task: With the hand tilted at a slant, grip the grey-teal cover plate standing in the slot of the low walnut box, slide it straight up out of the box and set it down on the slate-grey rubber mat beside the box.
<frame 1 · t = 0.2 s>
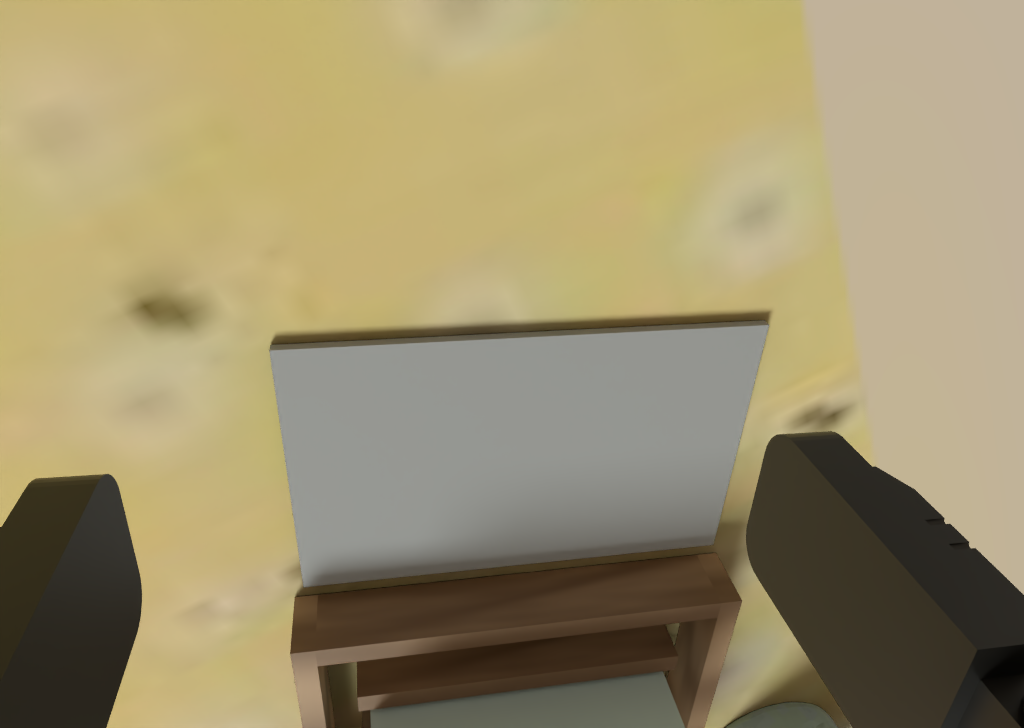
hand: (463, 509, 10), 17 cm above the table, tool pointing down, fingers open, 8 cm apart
grey mat: (523, 456, 32), on the table
walnut box: (510, 656, 39), on the table
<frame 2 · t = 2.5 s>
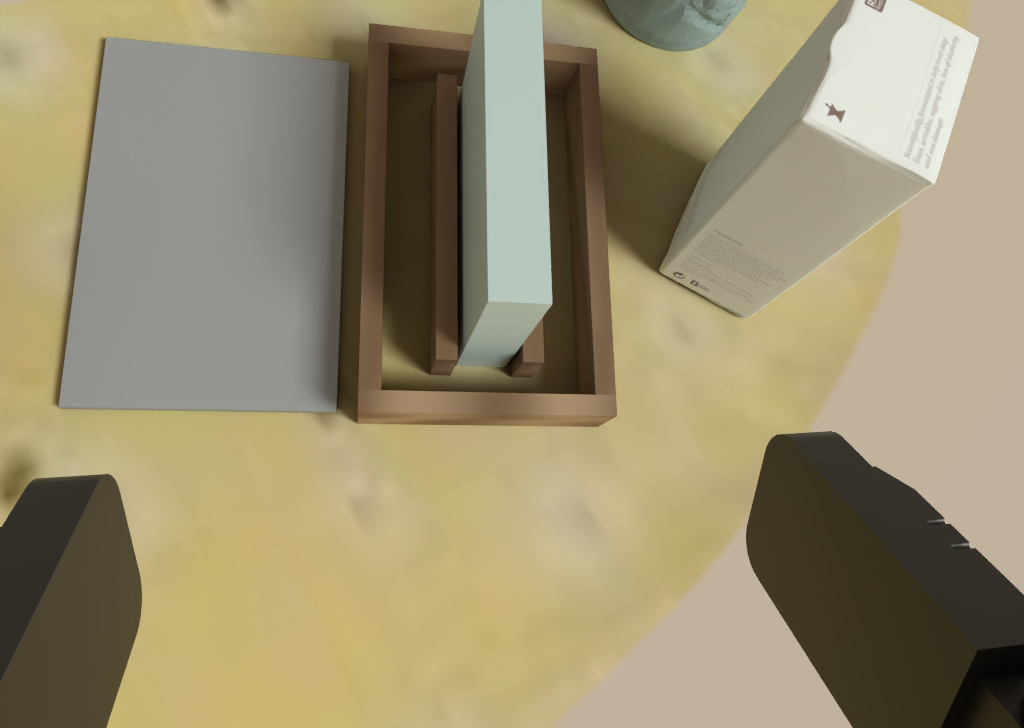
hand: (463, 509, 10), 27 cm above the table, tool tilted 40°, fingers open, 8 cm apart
skincare box: (722, 237, 43), on the table
grey mat: (218, 221, 38), on the table
walnut box: (479, 237, 40), on the table
cover plate: (495, 195, 35), in the walnut box
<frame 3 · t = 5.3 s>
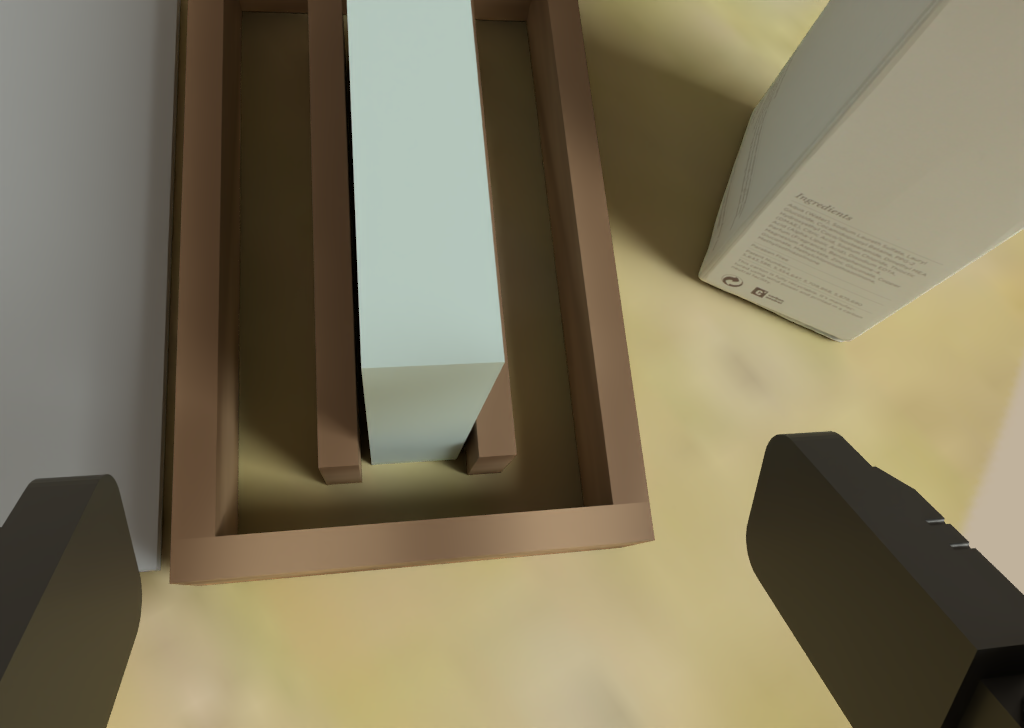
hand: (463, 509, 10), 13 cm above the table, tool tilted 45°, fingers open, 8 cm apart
skincare box: (790, 218, 28), on the table
walnut box: (402, 246, 25), on the table
cover plate: (405, 165, 20), in the walnut box
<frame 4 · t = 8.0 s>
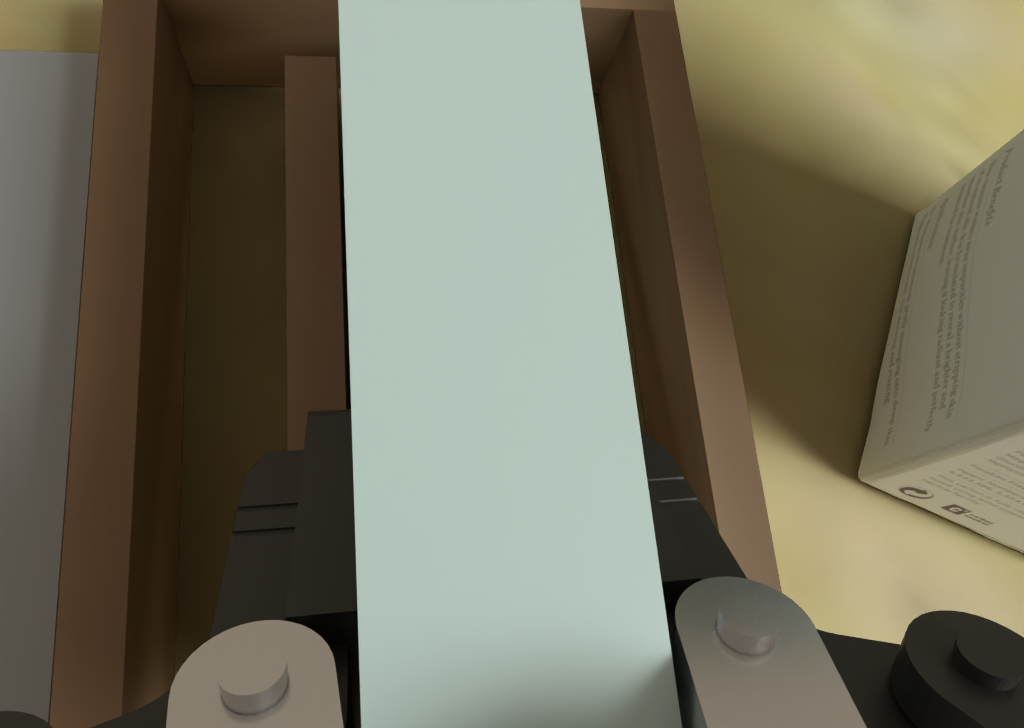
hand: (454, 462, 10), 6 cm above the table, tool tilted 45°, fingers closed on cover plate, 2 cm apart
skincare box: (973, 374, 19), on the table
walnut box: (426, 444, 16), on the table
cover plate: (444, 382, 12), in the walnut box, touching gripper
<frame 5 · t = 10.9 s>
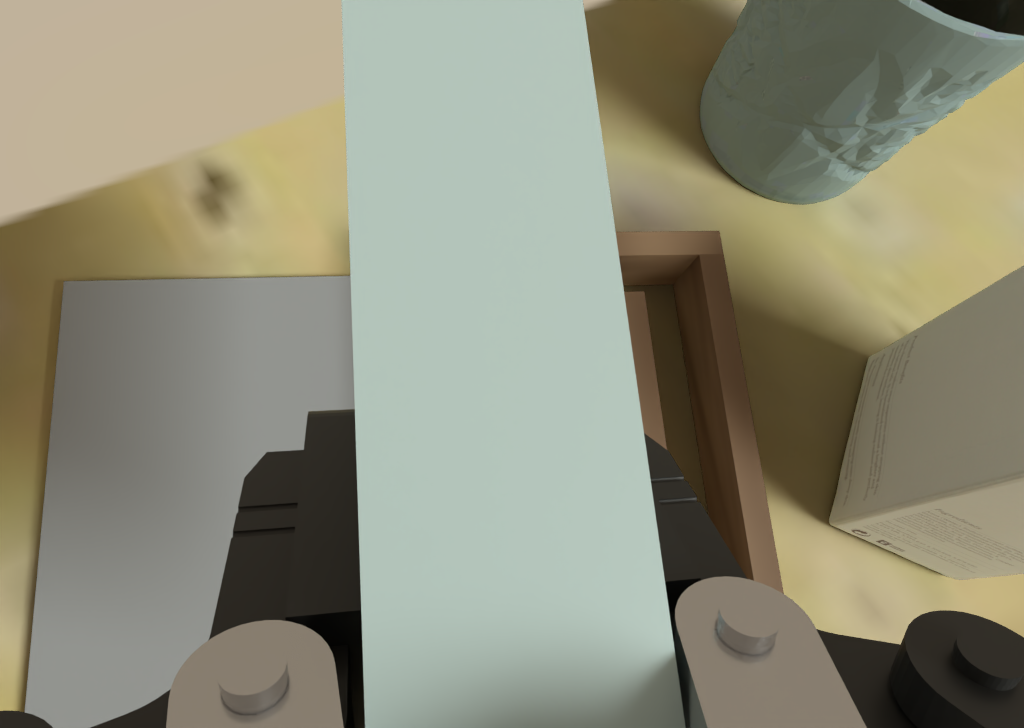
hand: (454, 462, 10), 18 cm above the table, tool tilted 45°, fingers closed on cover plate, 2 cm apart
skincare box: (902, 458, 32), on the table
grey-green cup: (787, 127, 36), on the table
grey mat: (228, 528, 27), on the table
walnut box: (582, 504, 29), on the table
cover plate: (446, 384, 12), point 17 cm above the table, touching gripper
when the fingers open (7 cm above the table, at t = 13.9 s): cover plate stays where it is, resting on grey mat.
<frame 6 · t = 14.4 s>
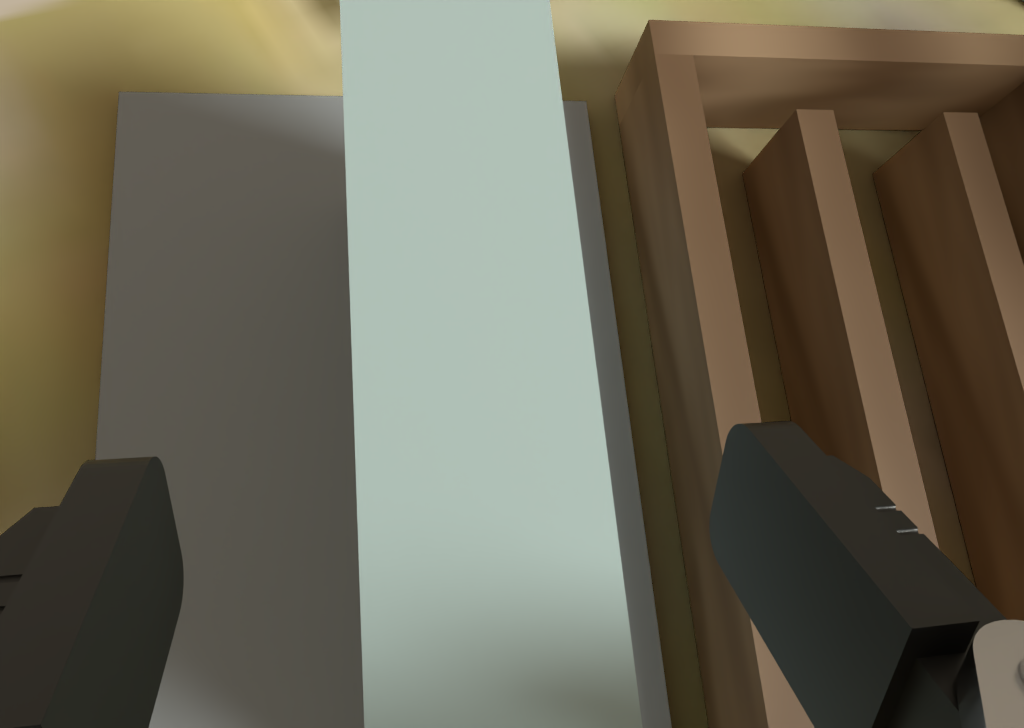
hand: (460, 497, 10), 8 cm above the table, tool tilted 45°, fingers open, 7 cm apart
grey mat: (379, 458, 18), on the table
walnut box: (883, 427, 20), on the table
cover plate: (440, 423, 13), on the grey mat
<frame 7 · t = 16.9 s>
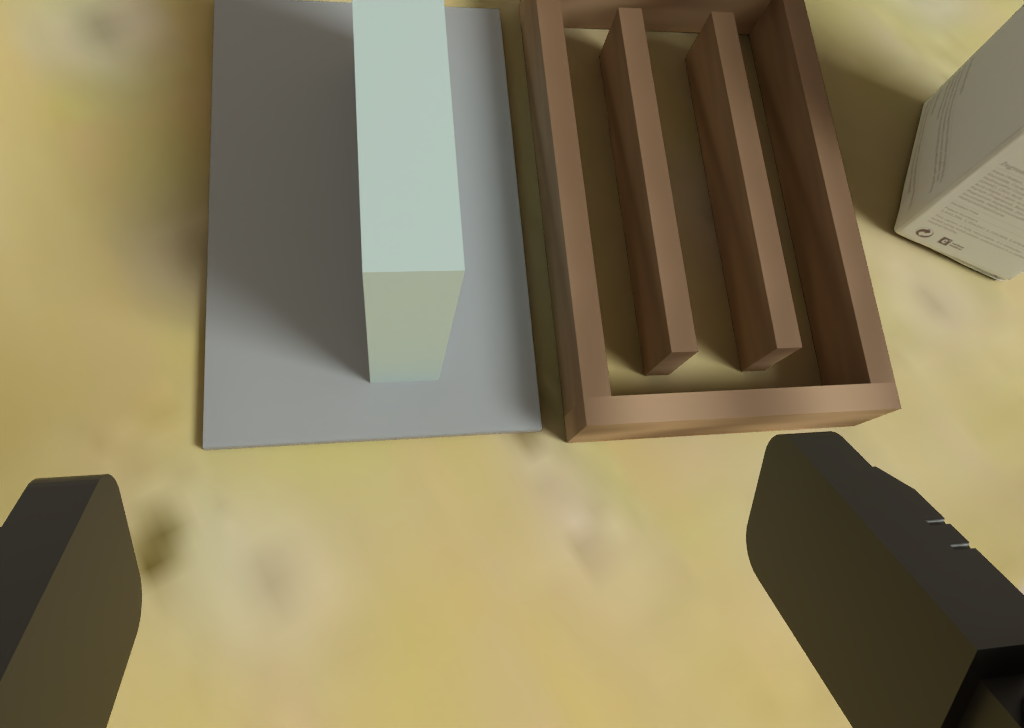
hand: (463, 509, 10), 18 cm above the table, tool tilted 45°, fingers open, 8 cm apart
skincare box: (955, 187, 36), on the table
grey mat: (369, 206, 30), on the table
walnut box: (677, 205, 33), on the table
cover plate: (397, 138, 25), on the grey mat
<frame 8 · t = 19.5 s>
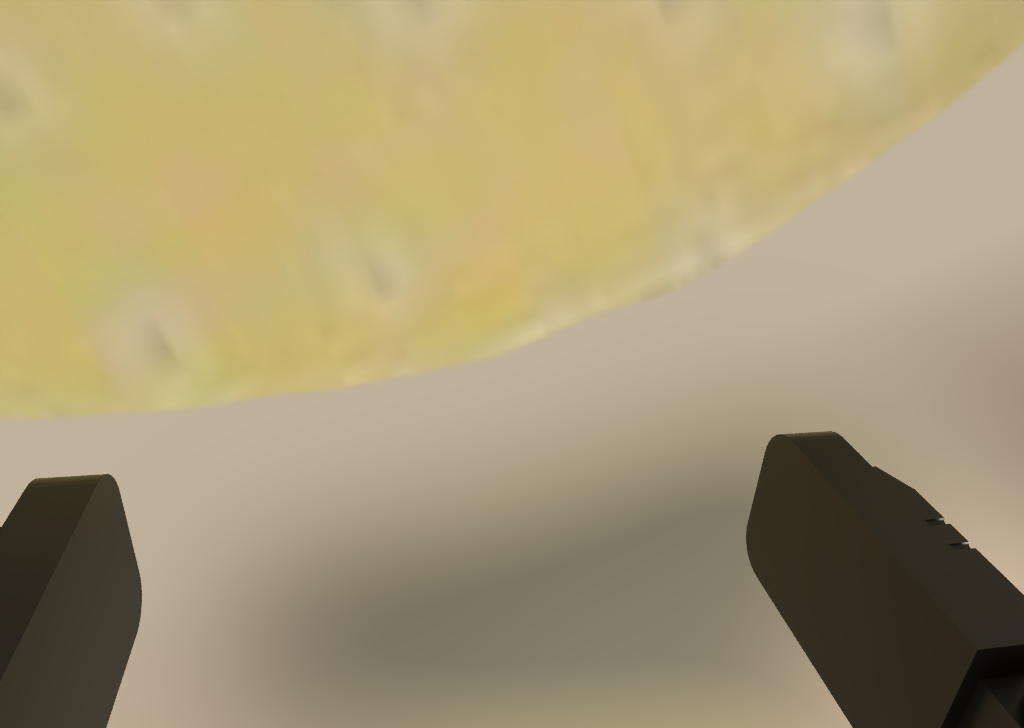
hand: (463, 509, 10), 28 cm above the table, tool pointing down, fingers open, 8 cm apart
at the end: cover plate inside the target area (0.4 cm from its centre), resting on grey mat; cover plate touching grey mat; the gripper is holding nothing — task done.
